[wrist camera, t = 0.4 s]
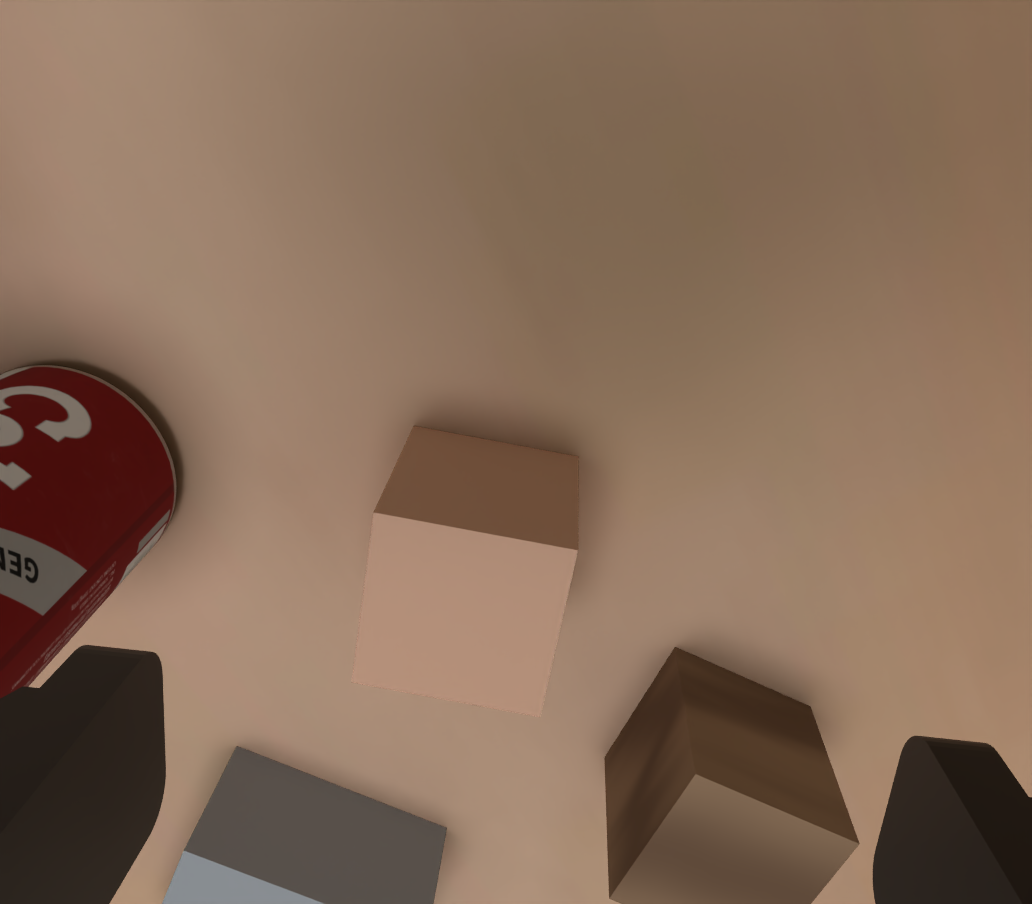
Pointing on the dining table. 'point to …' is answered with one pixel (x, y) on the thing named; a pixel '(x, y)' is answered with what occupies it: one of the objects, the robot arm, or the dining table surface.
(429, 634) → the tan block
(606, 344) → the dining table surface
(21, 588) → the soda can
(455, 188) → the dining table surface
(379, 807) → the grey base block
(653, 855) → the walnut block
